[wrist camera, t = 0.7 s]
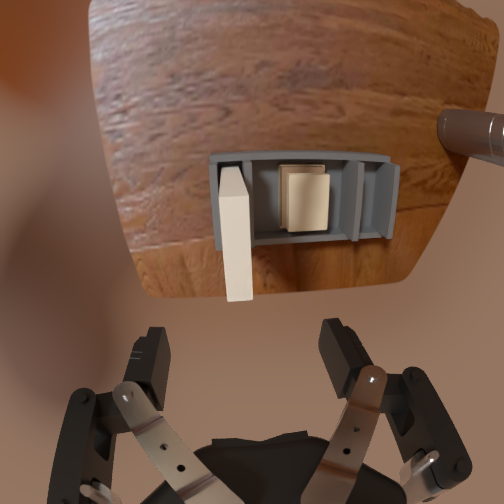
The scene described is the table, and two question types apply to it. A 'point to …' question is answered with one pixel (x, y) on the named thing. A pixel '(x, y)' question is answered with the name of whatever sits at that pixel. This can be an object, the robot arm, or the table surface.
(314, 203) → the offcuts
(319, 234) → the rack
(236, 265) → the white rectangular board
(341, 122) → the table surface
